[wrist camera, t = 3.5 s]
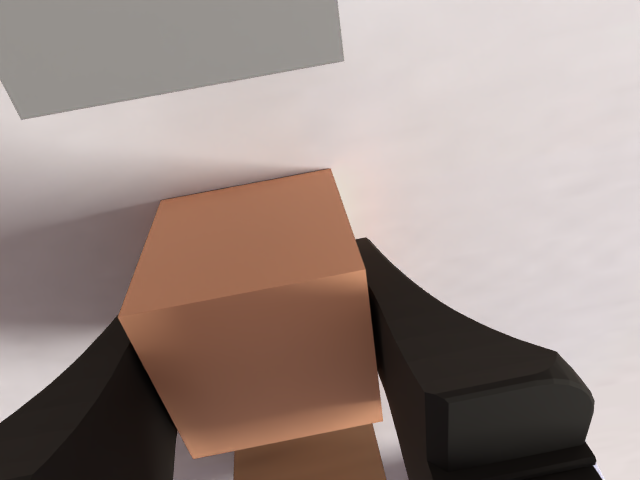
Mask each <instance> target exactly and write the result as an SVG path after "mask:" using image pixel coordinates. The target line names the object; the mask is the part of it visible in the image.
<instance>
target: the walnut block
mask: <svg viewBox="0 0 640 480" xmlns="http://www.w3.org/2000/svg"><path fill="white" fill-rule="evenodd" d="M234 480H386V476H385V472H384V468H383V464H382V460H381V456H380V452H379V448H378V444H377V440H376V436H375V432H374V428H373V424H372V423H371V424H366V425H361V426H356V427H351V428H346V429H341V430H336V431H331V432H326V433H321V434H316V435H311V436H306V437H301V438H296V439H291V440H286V441H281V442H276V443H271V444H266V445H261V446H256V447H251V448H246V449H241V450H236V451H235V453H234Z"/></svg>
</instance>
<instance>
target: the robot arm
mask: <svg viewBox="0 0 640 480" xmlns="http://www.w3.org/2000/svg"><path fill="white" fill-rule="evenodd" d="M355 240H356V243H357V246H358V249H359V252H360V255H361V258H362V260H363V263H364V266H365V269H366V277H367V286H368V295H369V303H370V312H371V321H372V329H373V338H374V347H375V355H376V364H377V371H378V374H379V377H380V379H381V382H382V385H383V387H384V390H385V393H386V396H387V399H388V403H389V406H390V410H391V414H392V417H393V421H394V425H395V429H396V432H397V436H398V440H399V444H400V448H401V451H402V455H403V459H404V463H405V467H406V471H407V475H408V478H409V480H605V479H604V477H603V475H602V473H601V471H600V469H599V467H598V465H597V463H596V458H595V456H594V454H593V453H592V451H591V450H590V448H589V447H588V445H587V444H586V442H585V439H586V436H587V432H588V429H589V426H590V422H591V419H592V416H593V412H594V402H595V401H594V399H593V396H592V394H591V391H590V390H589V389H588V388H587V386H586V385H585V384H584V382H583V381H582V380H581V378H580V377H579V376H578V375H577V373H576V372H575V371H574V370H573V369H572V368H571V366H570V365H569V364H568V363H567V362H566V361H565V360H564V359H563V358H562V357H561V356H560V355H559V354H558V353H557V352H556V351H553V350H550V349H547V348H543V347H540V346H537V345H534V344H531V343H528V342H525V341H522V340H519V339H516V338H513V337H511V336H509V335H506V334H504V333H501V332H499V331H496V330H494V329H491V328H489V327H487V326H485V325H483V324H480V323H478V322H476V321H474V320H472V319H470V318H468V317H466V316H464V315H463V314H461V313H459V312H457V311H455V310H453V309H452V308H450V307H448V306H447V305H445V304H444V303H442V302H440V301H439V300H437V299H436V298H434V297H433V296H431V295H430V294H429V293H427V292H426V291H425V290H423V289H422V288H421V287H419V286H418V285H417V284H415V283H414V282H413V281H412V280H410V279H409V278H408V277H407V276H406V275H405V274H403V273H402V272H401V271H400V270H399V269H398V268H397V267H395V266H394V265H393V264H392V263H391V262H390V261H389V260H388V259H387V258H386V257H385V256H384V255H383V254H382V253H381V252H380V251H379V250H378V249H377V248H376V247H375V245H374V244H373V243H372V242H371V241H370V240H369V239H367V238H360V239H355ZM118 315H119V314H118ZM176 437H177V428H176V426H175V424H174V422H173V420H172V419H171V417H170V415H169V413H168V411H167V409H166V407H165V405H164V403H163V402H162V400H161V398H160V396H159V394H158V392H157V390H156V388H155V387H154V385H153V383H152V381H151V379H150V377H149V375H148V373H147V371H146V370H145V368H144V366H143V364H142V362H141V360H140V358H139V356H138V354H137V353H136V351H135V349H134V347H133V345H132V343H131V341H130V339H129V338H128V336H127V334H126V332H125V330H124V328H123V326H122V324H121V322H120V321H119V319H118V316H117V317H116V318H115V319H114V320H113V321H112V322H111V324H110V325H109V326H108V327H107V328H106V329H105V330H104V331H103V333H102V334H101V335H100V336H99V337H98V338H97V339H96V340H95V341H94V342H93V343H92V344H91V345H90V346H89V347H88V348H87V350H86V351H85V352H84V353H83V354H82V355H81V356H80V357H79V358H78V359H77V360H76V361H75V362H74V363H73V364H72V365H70V366H69V367H68V368H67V369H66V370H65V371H64V372H63V373H62V374H61V375H60V376H58V377H57V378H56V379H55V380H54V381H53V382H52V383H51V384H49V385H48V386H47V387H46V388H45V389H43V390H42V391H41V392H40V393H38V394H37V395H36V396H35V397H33V398H32V399H31V400H29V401H28V402H27V403H26V404H24V405H23V406H22V407H21V408H19V409H18V410H17V411H16V412H14V413H13V414H12V415H10V416H9V417H8V418H6V419H5V420H3V421H2V422H1V423H0V480H173V471H174V457H175V444H176Z"/></svg>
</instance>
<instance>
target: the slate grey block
mask: <svg viewBox="0 0 640 480" xmlns="http://www.w3.org/2000/svg"><path fill="white" fill-rule="evenodd" d="M342 61H344V56H343V47H342V38H341V29H340V20H339V11H338V2H337V0H0V80H1V82H2V84H3V86H4V88H5V90H6V91H7V93H8V95H9V97H10V99H11V101H12V103H13V105H14V107H15V109H16V111H17V113H18V115H19V116H20V118H21V120H23V119H29V118H34V117H40V116H45V115H51V114H56V113H62V112H67V111H73V110H78V109H84V108H89V107H95V106H100V105H106V104H111V103H117V102H122V101H128V100H133V99H139V98H144V97H150V96H155V95H161V94H166V93H172V92H177V91H183V90H188V89H193V88H199V87H204V86H210V85H215V84H221V83H226V82H232V81H237V80H243V79H248V78H254V77H259V76H265V75H270V74H276V73H281V72H287V71H292V70H298V69H303V68H309V67H314V66H320V65H325V64H331V63H336V62H342Z"/></svg>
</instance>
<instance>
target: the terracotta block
mask: <svg viewBox="0 0 640 480" xmlns="http://www.w3.org/2000/svg"><path fill="white" fill-rule="evenodd" d="M118 319H119V321H120V322H121V324H122V326H123V328H124V330H125V332H126V334H127V336H128V338H129V339H130V341H131V343H132V345H133V347H134V349H135V351H136V353H137V354H138V356H139V358H140V360H141V362H142V364H143V366H144V368H145V370H146V371H147V373H148V375H149V377H150V379H151V381H152V383H153V385H154V387H155V388H156V390H157V392H158V394H159V396H160V398H161V400H162V402H163V403H164V405H165V407H166V409H167V411H168V413H169V415H170V417H171V419H172V420H173V422H174V424H175V426H176V428H177V430H178V432H179V434H180V435H181V437H182V439H183V441H184V443H185V445H186V447H187V449H188V451H189V452H190V454H191V456H192V458H193V459H196V458H201V457H206V456H211V455H216V454H221V453H226V452H231V451H236V450H241V449H246V448H251V447H256V446H261V445H266V444H271V443H276V442H281V441H286V440H291V439H296V438H301V437H306V436H311V435H316V434H321V433H326V432H331V431H336V430H341V429H346V428H351V427H356V426H361V425H366V424H371V423H376V422H381V421H383V416H382V408H381V399H380V390H379V382H378V373H377V364H376V355H375V347H374V338H373V329H372V321H371V312H370V303H369V295H368V286H367V277H366V269H365V266H364V263H363V260H362V258H361V255H360V252H359V249H358V246H357V243H356V240H355V237H354V235H353V232H352V229H351V226H350V223H349V220H348V217H347V214H346V211H345V209H344V206H343V203H342V200H341V197H340V194H339V191H338V188H337V186H336V183H335V180H334V177H333V174H332V171H331V169H326V170H320V171H315V172H310V173H304V174H299V175H294V176H288V177H283V178H278V179H272V180H267V181H262V182H256V183H251V184H246V185H240V186H235V187H230V188H224V189H219V190H214V191H208V192H203V193H198V194H192V195H187V196H182V197H176V198H171V199H166V200H161V202H160V204H159V207H158V210H157V213H156V215H155V218H154V221H153V223H152V226H151V229H150V231H149V234H148V237H147V240H146V242H145V245H144V248H143V250H142V253H141V256H140V258H139V261H138V264H137V267H136V269H135V272H134V275H133V277H132V280H131V283H130V286H129V288H128V291H127V294H126V296H125V299H124V302H123V304H122V307H121V310H120V313H119V315H118Z"/></svg>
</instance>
